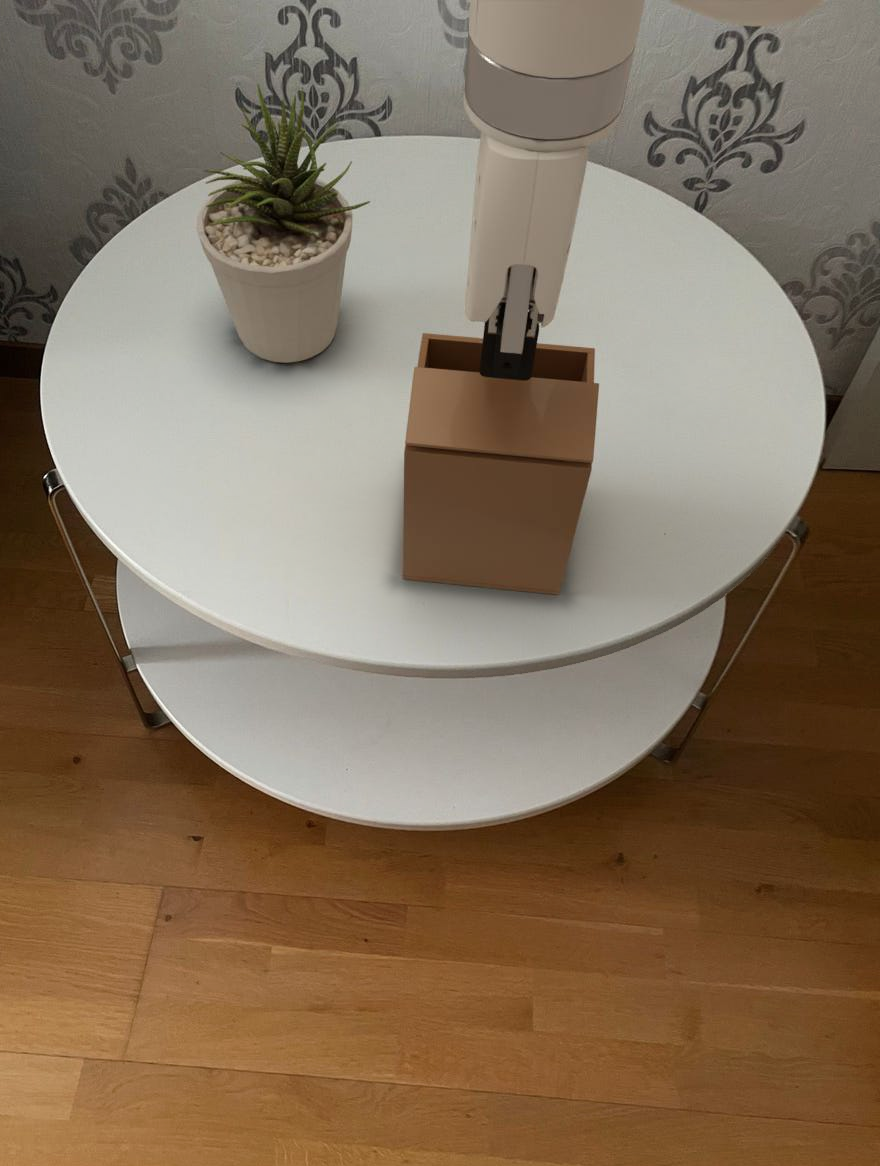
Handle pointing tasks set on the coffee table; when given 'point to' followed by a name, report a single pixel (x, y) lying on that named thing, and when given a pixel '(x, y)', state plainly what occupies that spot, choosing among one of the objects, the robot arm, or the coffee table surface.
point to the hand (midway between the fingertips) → (505, 369)
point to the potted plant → (279, 245)
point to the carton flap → (503, 415)
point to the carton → (492, 493)
